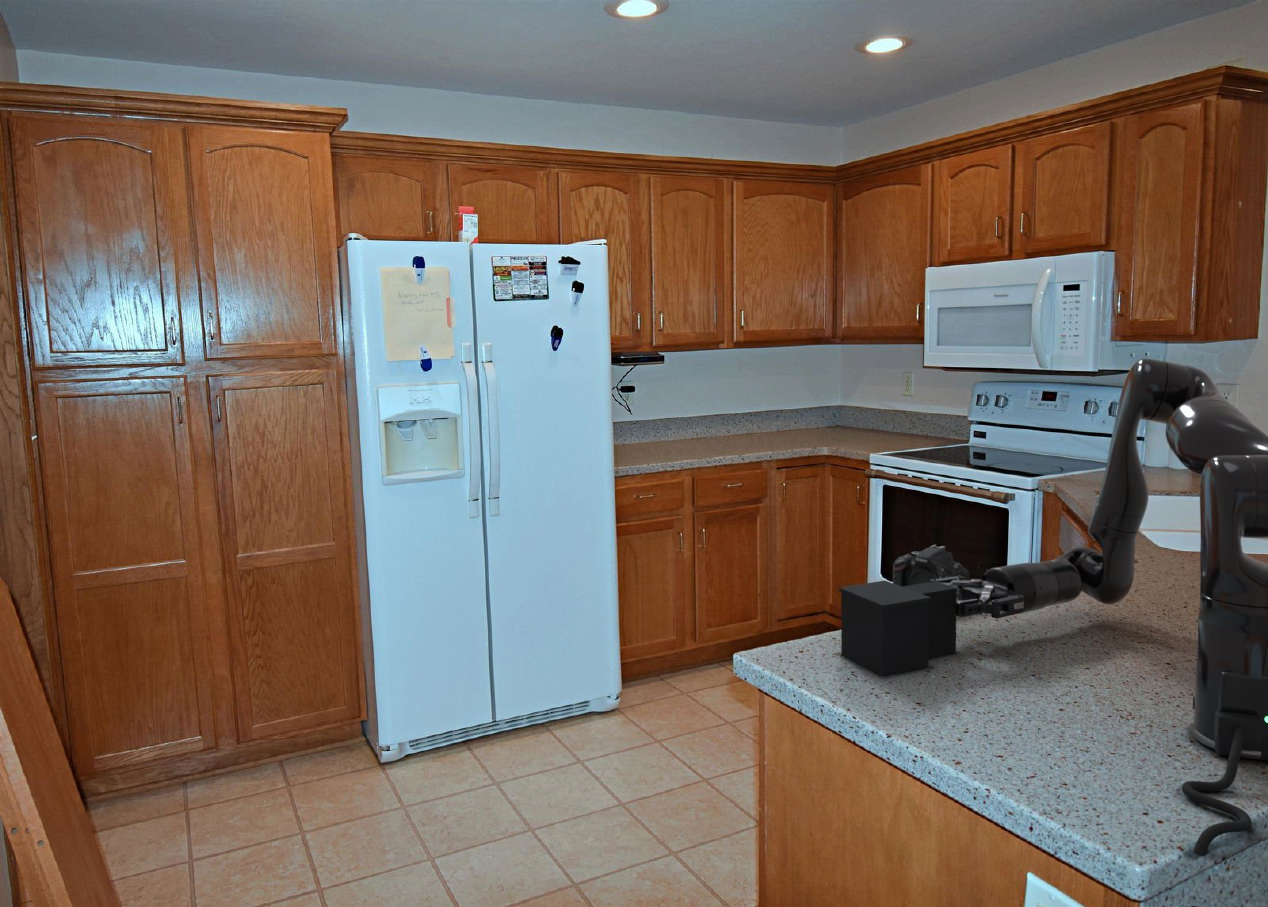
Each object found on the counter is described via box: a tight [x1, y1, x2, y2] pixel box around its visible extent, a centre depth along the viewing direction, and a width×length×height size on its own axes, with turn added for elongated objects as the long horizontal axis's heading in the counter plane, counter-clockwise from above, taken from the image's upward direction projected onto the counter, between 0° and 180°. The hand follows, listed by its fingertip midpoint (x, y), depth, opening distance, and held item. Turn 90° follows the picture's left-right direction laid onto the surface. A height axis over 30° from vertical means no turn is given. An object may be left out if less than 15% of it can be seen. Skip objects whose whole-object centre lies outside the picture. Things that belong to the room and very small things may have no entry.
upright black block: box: [903, 581, 957, 659], centre depth 133 cm, size 4×7×10 cm, turn 112°
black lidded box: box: [838, 580, 931, 677], centre depth 130 cm, size 10×8×10 cm
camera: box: [892, 544, 970, 598], centre depth 160 cm, size 13×10×10 cm
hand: (937, 602), depth 134 cm, fingers open, 8 cm apart
